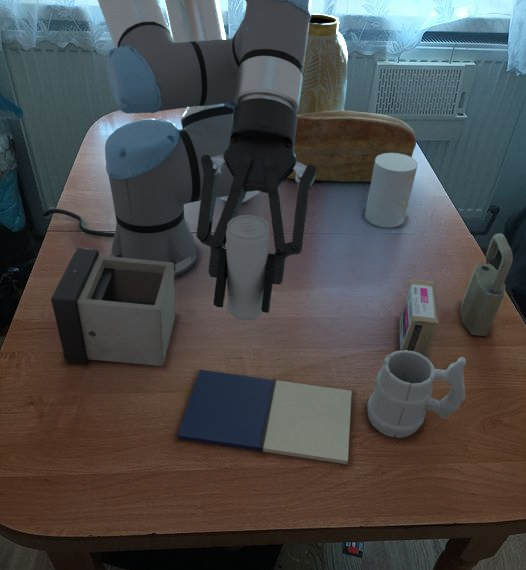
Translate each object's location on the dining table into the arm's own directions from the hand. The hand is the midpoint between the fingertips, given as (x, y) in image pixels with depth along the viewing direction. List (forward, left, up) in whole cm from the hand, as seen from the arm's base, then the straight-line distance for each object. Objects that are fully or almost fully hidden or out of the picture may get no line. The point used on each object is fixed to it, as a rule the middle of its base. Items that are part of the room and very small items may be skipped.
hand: (241, 308), depth 62 cm
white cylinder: (+20, +56, -18) cm, 62 cm away
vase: (0, +93, -18) cm, 95 cm away
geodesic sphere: (-12, +57, -18) cm, 61 cm away
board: (+4, -1, -17) cm, 18 cm away
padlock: (+35, +26, -18) cm, 46 cm away
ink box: (+24, +18, -18) cm, 35 cm away
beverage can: (0, +4, -3) cm, 5 cm away
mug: (+23, +2, -18) cm, 29 cm away
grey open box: (-20, +10, -18) cm, 28 cm away
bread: (+10, +74, -18) cm, 77 cm away
